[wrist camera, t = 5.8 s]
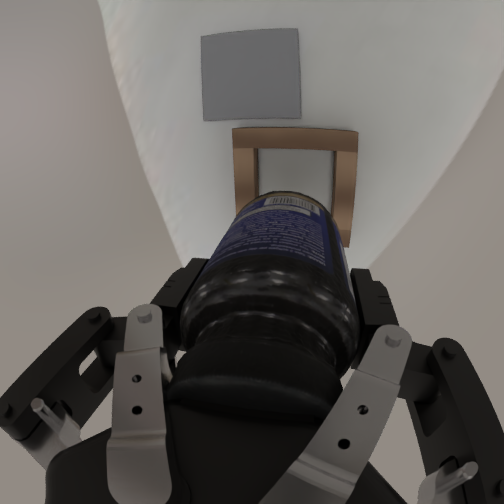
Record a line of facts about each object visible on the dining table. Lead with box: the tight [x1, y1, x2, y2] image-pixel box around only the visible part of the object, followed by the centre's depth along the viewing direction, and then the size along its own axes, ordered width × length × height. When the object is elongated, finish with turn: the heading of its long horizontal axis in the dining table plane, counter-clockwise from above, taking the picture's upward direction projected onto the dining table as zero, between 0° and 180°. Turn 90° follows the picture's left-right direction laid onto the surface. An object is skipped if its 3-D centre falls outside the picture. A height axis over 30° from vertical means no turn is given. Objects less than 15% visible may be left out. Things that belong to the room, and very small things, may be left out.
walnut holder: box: [232, 127, 358, 248], centre depth 27 cm, size 12×12×2 cm
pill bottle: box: [167, 191, 361, 421], centre depth 11 cm, size 6×6×11 cm
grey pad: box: [201, 29, 301, 121], centre depth 23 cm, size 10×10×1 cm
